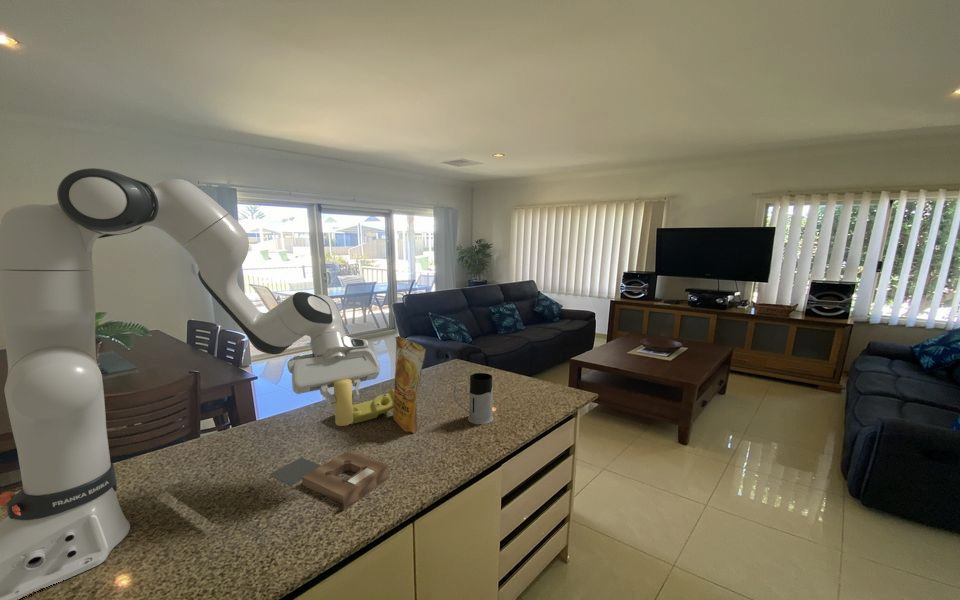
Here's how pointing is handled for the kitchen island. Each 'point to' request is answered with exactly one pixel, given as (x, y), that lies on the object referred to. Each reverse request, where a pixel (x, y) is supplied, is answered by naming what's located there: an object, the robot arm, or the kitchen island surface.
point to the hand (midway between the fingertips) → (344, 400)
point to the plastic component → (373, 407)
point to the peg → (343, 402)
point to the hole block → (348, 488)
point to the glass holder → (479, 398)
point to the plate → (294, 471)
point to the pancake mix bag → (407, 382)
